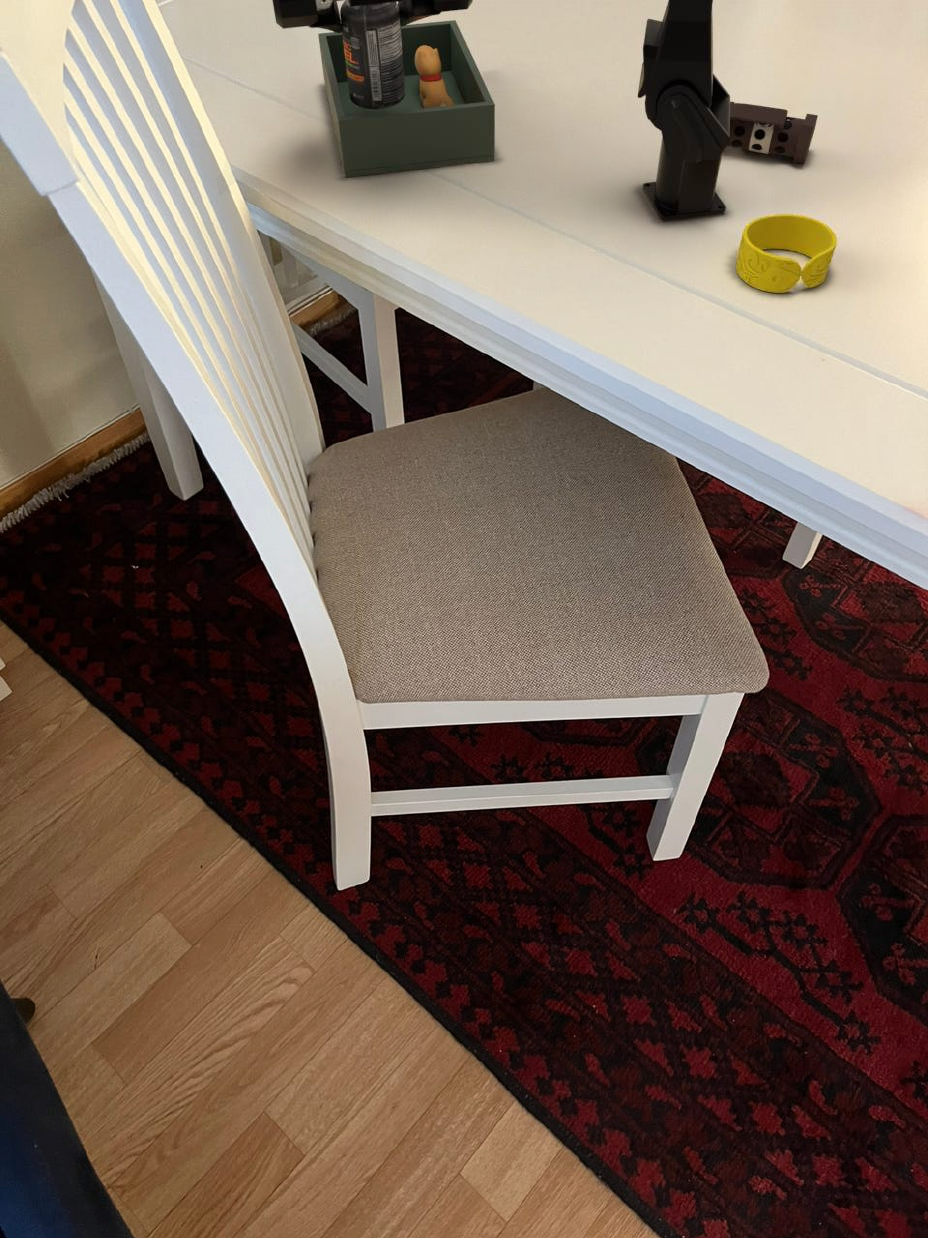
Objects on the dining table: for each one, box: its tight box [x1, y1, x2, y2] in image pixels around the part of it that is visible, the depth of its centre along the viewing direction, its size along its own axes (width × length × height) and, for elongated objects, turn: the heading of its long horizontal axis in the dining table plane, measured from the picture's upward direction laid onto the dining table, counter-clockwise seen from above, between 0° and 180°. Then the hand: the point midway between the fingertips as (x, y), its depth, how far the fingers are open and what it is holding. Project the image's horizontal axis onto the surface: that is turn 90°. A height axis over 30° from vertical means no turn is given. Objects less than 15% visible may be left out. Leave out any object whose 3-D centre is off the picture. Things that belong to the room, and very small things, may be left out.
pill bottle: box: [339, 0, 405, 109], centre depth 95 cm, size 6×6×11 cm
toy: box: [415, 45, 454, 109], centre depth 101 cm, size 3×17×5 cm, turn 11°
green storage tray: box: [317, 19, 496, 178], centre depth 101 cm, size 22×16×6 cm
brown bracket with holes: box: [726, 101, 819, 165], centre depth 95 cm, size 4×11×5 cm
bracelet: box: [735, 213, 838, 294], centre depth 83 cm, size 7×8×3 cm
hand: (369, 24), depth 95 cm, fingers closed on pill bottle, 6 cm apart
